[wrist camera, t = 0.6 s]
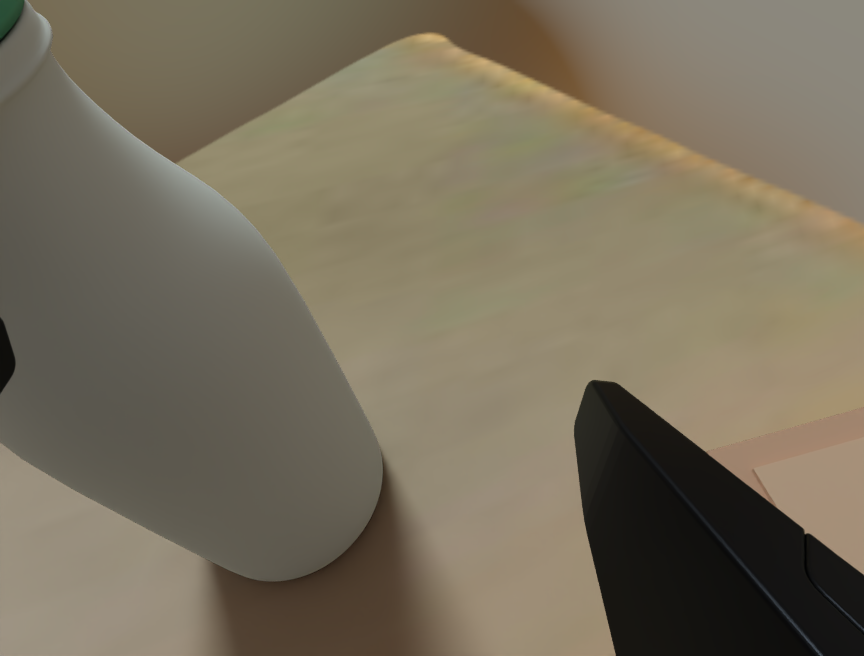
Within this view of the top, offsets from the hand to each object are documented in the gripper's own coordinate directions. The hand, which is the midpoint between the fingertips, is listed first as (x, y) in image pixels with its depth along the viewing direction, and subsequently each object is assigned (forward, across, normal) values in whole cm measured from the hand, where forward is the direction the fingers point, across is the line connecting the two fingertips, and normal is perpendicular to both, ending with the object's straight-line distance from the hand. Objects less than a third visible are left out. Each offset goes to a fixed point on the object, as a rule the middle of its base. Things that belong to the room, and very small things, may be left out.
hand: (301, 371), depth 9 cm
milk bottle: (+10, +2, +13) cm, 16 cm away
